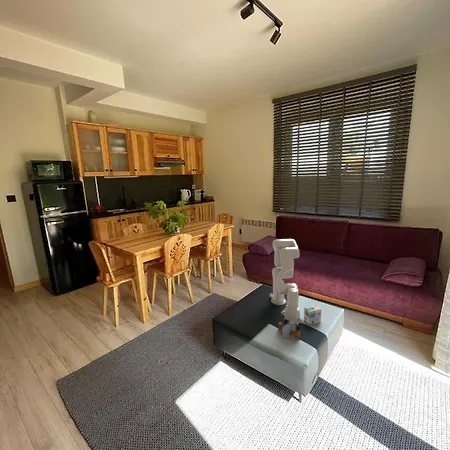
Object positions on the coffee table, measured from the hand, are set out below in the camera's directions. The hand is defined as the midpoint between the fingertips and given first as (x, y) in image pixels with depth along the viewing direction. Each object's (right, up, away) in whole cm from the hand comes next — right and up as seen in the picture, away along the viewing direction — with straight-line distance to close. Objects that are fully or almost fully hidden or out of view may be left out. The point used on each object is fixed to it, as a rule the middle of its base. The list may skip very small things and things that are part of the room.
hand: (291, 327), depth 169 cm
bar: (-3, -4, -2) cm, 5 cm away
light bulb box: (+19, 0, +11) cm, 22 cm away
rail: (-3, -4, -2) cm, 5 cm away
